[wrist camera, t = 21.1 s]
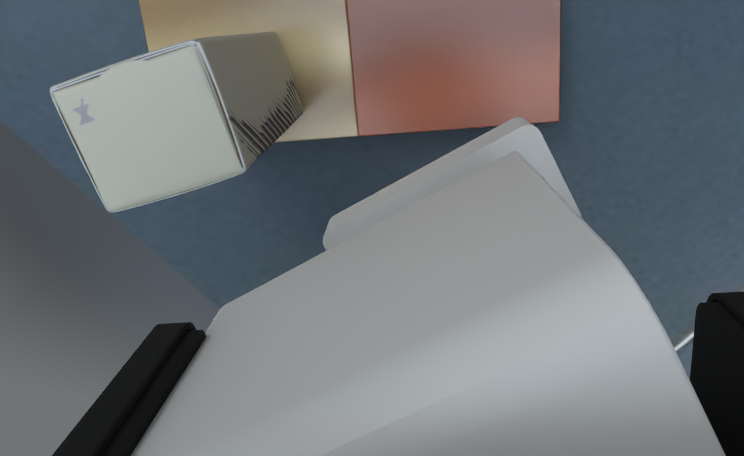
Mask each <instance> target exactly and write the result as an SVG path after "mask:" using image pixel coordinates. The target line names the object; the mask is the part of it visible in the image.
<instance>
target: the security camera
mask: <svg viewBox="0 0 744 456" xmlns="http://www.w3.org/2000/svg"><path fill="white" fill-rule="evenodd" d="M581 216H582V215H581V213H580V211H579V209H578V207H577V205H576V203H575V201H574V199H573V197H572V195H571V193H570V191H569V189H568V187H567V185H566V183H565V181H564V179H563V177H562V175H561V173H560V171H559V169H558V166H557V164H556V162H555V160H554V158H553V156H552V154H551V152H550V150H549V148H548V146H547V144H546V142H545V140H544V138H543V136H542V134H541V132H540V131H539V129H538V128H536V127H535V126H534V125H532V124H531V123H530V122H528V121H527V120H525V119H524V118H521V117H515V118H513V119H510V120H509V121H507V122H505V123H503V124H501V125H499V126H498V127H496V128H494V129H492V130H490V131H488V132H487V133H485V134H483V135H481V136H479V137H477V138H476V139H474V140H472V141H470V142H468V143H466V144H464V145H463V146H461V147H459V148H457V149H455V150H453V151H452V152H450V153H448V154H446V155H444V156H442V157H441V158H439V159H437V160H435V161H433V162H431V163H430V164H428V165H426V166H424V167H422V168H420V169H419V170H417V171H415V172H413V173H411V174H409V175H408V176H406V177H404V178H402V179H400V180H398V181H397V182H395V183H393V184H391V185H389V186H387V187H385V188H384V189H382V190H380V191H378V192H376V193H374V194H373V195H371V196H369V197H367V198H365V199H363V200H362V201H360V202H358V203H356V204H354V205H352V206H351V207H349V208H347V209H345V210H343V211H341V212H340V213H338V214H336V215H334V216H333V217H331V219H330V220H329V223H328V225H327V228H326V231H325V234H324V237H323V245H324V248H325V249H326V251H325V252H323V253H321V254H319V255H318V256H316V257H314V258H312V259H310V260H308V261H306V262H304V263H303V264H301V265H299V266H297V267H295V268H293V269H291V270H289V271H288V272H286V273H284V274H282V275H280V276H278V277H276V278H274V279H273V280H271V281H269V282H267V283H265V284H263V285H261V286H259V287H258V288H256V289H254V290H252V291H250V292H248V293H246V294H244V295H243V296H241V297H239V298H237V299H235V300H233V301H231V302H229V303H228V304H226V305H224V306H223V307H222V308H221V309H220V310H219V311H218V313H217V315H216V316H215V318H214V320H213V321H212V323H211V324H210V326H209V327H208V329H207V331H206V332H205V334H206V338H205V340H204V341H203V343H202V344H201V346H200V348H199V349H198V351H197V352H196V354H195V355H194V357H193V358H192V360H191V362H190V363H189V365H188V366H187V368H186V369H185V371H184V373H183V374H182V376H181V377H180V379H179V380H178V382H177V384H176V385H175V387H174V388H173V390H172V391H171V393H170V394H169V396H168V398H167V399H166V401H165V402H164V404H163V405H162V407H161V409H160V410H159V412H158V413H157V415H156V416H155V418H154V420H153V421H152V423H151V424H150V426H149V427H148V429H147V431H146V432H145V434H144V435H143V437H142V438H141V440H140V441H139V443H138V445H137V446H136V448H135V449H134V451H133V452H132V454H131V456H726V455H725V453H724V451H723V449H722V447H721V445H720V443H719V441H718V439H717V437H716V434H715V432H714V430H713V428H712V426H711V424H710V422H709V420H708V418H707V416H706V414H705V412H704V409H703V407H702V405H701V403H700V401H699V399H698V397H697V395H696V393H695V391H694V389H693V386H692V384H691V382H690V380H689V378H688V376H687V374H686V372H685V370H684V368H683V366H682V363H681V361H680V359H679V357H678V355H677V353H676V351H675V349H674V347H673V345H672V343H671V341H670V339H669V337H668V335H667V333H666V331H665V329H664V327H663V326H662V324H661V322H660V320H659V319H658V317H657V315H656V313H655V312H654V310H653V308H652V306H651V305H650V303H649V301H648V300H647V298H646V297H645V295H644V293H643V292H642V290H641V289H640V287H639V286H638V284H637V282H636V281H635V279H634V278H633V277H632V275H631V274H630V272H629V271H628V269H627V268H626V267H625V265H624V264H623V262H622V261H621V260H620V259H619V257H618V256H617V255H616V254H615V253H614V251H613V250H612V249H611V248H610V247H609V246H608V245H607V244H606V243H605V242H604V241H603V240H602V239H601V238H600V237H599V236H598V235H597V234H596V233H595V232H594V230H593V229H592V228H591V227H590V226H589V225H588V224H587V223H586V222H585V221H584V220H583V219H582V218H581Z"/></svg>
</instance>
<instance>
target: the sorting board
mask: <svg viewBox="0 0 744 456" xmlns="http://www.w3.org/2000/svg"><path fill="white" fill-rule="evenodd" d="M139 4H140V9H141V14H142V20H143V25H144V30H145V35H146V40H147V45H148V50H149V52H151V51H154V50H157V49H160V48H164V47H167V46H170V45H173V44H177V43H180V42H184V41H187V40H191V39H197V38H205V37H215V36H227V35H238V34H250V33H260V32H275V33H276V34H277V36H278V38H279V41H280V43H281V46H282V48H283V51H284V53H285V56H286V59H287V61H288V64H289V67H290V70H291V73H292V76H293V79H294V82H295V85H296V88H297V91H298V95H299V98H300V101H301V104H302V107H303V111H304V113H303V114H302V115H301V116H300V117H299V118H298V119H297V120H296V121H295V122H294V124H292V125H291V126H290V127H289V129H287V130H286V131H285V132H284V133H283V134H282V135H281V136H280V137H279V138H278V139H277V140H276V141H275V142H288V141H301V140H315V139H329V138H342V137H356V136H358V135H359V136H371V135H384V134H398V133H412V132H425V131H439V130H453V129H466V128H480V127H494V126H499V125H501V124H503V123H505V122H507V121H509V120H510V119H513V118H515V117H521V118H524V119H525V120H527V121H528V122H530V123H531V124H535V123H548V122H559V119H560V47H561V0H139Z"/></svg>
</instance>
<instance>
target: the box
mask: <svg viewBox="0 0 744 456" xmlns="http://www.w3.org/2000/svg"><path fill="white" fill-rule="evenodd" d="M50 94H51V97H52V100H53V102H54V104H55V106H56V108H57V110H58V112H59V115H60V117H61V119H62V121H63V123H64V125H65V127H66V130H67V132H68V134H69V136H70V138H71V140H72V142H73V144H74V147H75V149H76V151H77V153H78V155H79V157H80V159H81V161H82V163H83V165H84V167H85V169H86V171H87V173H88V175H89V177H90V179H91V181H92V183H93V185H94V187H95V189H96V191H97V193H98V195H99V197H100V199H101V201H102V202H103V204H104V206H105V208H106V210H107V211H109V212H118V211H122V210H126V209H130V208H134V207H138V206H141V205H145V204H149V203H152V202H156V201H160V200H163V199H166V198H170V197H173V196H177V195H180V194H183V193H186V192H190V191H193V190H196V189H199V188H202V187H205V186H208V185H211V184H214V183H217V182H220V181H223V180H226V179H229V178H231V177H234V176H237V175H240V174H242V173H244V172H245V171H246V170H247V169H248V168H249V167H250V166H251V165H252V164H253V163H254V162H255V161H256V159H257V158H259V157H260V155H261V154H262V153H264V151H265V150H267V149H268V147H270V146H271V145H272V144H273V143H274V142H275V141H276V140H277V139H278V138H279V137H280V136H281V135H282V134H283V133H284V132H285V131H286V130H287V129H289V127H290V126H291V125H292V124H294V122H295V121H296V120H297V119H298V118H299V117H300V116H301V115H302V114H303V113H304V111H303V107H302V104H301V101H300V98H299V95H298V91H297V88H296V85H295V82H294V79H293V76H292V73H291V70H290V67H289V64H288V61H287V59H286V56H285V53H284V51H283V48H282V46H281V43H280V41H279V38H278V36H277V34H276V33H275V32H260V33H250V34H238V35H227V36H215V37H205V38H197V39H191V40H187V41H184V42H180V43H177V44H173V45H170V46H167V47H164V48H160V49H157V50H154V51H151V52H148V53H145V54H141V55H138V56H135V57H132V58H129V59H126V60H123V61H120V62H118V63H115V64H112V65H109V66H106V67H103V68H100V69H98V70H95V71H92V72H89V73H86V74H84V75H81V76H78V77H76V78H73V79H70V80H68V81H65V82H62V83H59V84H57V85H54V86H52V87H51V88H50Z"/></svg>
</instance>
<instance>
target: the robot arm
mask: <svg viewBox="0 0 744 456" xmlns="http://www.w3.org/2000/svg"><path fill="white" fill-rule="evenodd" d="M205 338H206V334H205V333H204V331H203V330H196V328H195V327H194V325H193V324H192V323H191V322H188V323H171V324H158V325H156V326H155V327H154V329H153V330H152V331H151V332H150V334H149V335H148V336H147V337H146V339H145V340H144V341H143V342H142V344H141V345H140V346H139V348H138V349H137V350H136V351H135V352H134V354H133V355H132V356H131V357H130V359H129V360H128V361H127V362H126V364H125V365H124V366H123V367H122V369H121V370H120V371H119V372H118V374H117V375H116V376H115V377H114V379H113V380H112V381H111V382H110V384H109V385H108V386H107V387H106V389H105V390H104V391H103V392H102V394H101V395H100V396H99V398H98V399H97V400H96V401H95V402H94V404H93V405H92V406H91V407H90V409H89V410H88V411H87V412H86V414H85V415H84V416H83V417H82V419H81V420H80V421H79V423H78V424H77V425H76V426H75V427H74V429H73V430H72V431H71V432H70V434H69V435H68V436H67V438H66V439H65V440H64V441H63V443H62V444H61V445H60V447H59V448H58V449H57V450H56V451H55V453H54V454H53V455H52V456H131V454H132V452H133V451H134V449H135V448H136V446H137V445H138V443H139V441H140V440H141V438H142V437H143V435H144V434H145V432H146V431H147V429H148V427H149V426H150V424H151V423H152V421H153V420H154V418H155V416H156V415H157V413H158V412H159V410H160V409H161V407H162V405H163V404H164V402H165V401H166V399H167V398H168V396H169V394H170V393H171V391H172V390H173V388H174V387H175V385H176V384H177V382H178V380H179V379H180V377H181V376H182V374H183V373H184V371H185V369H186V368H187V366H188V365H189V363H190V362H191V360H192V358H193V357H194V355H195V354H196V352H197V351H198V349H199V348H200V346H201V344H202V343H203V341H204V340H205ZM690 382H691V384H692V386H693V389H694V391H695V393H696V395H697V397H698V399H699V401H700V403H701V405H702V407H703V409H704V412H705V414H706V416H707V418H708V420H709V422H710V424H711V426H712V428H713V430H714V432H715V434H716V437H717V439H718V441H719V443H720V445H721V447H722V449H723V451H724V453H725V455H726V456H744V292H728V293H712V294H711V295H710V296H709V298H708V300H707V302H706V303H700V304H699V305H698V307H697V309H696V317H695V328H694V339H693V351H692V362H691V373H690Z"/></svg>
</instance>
